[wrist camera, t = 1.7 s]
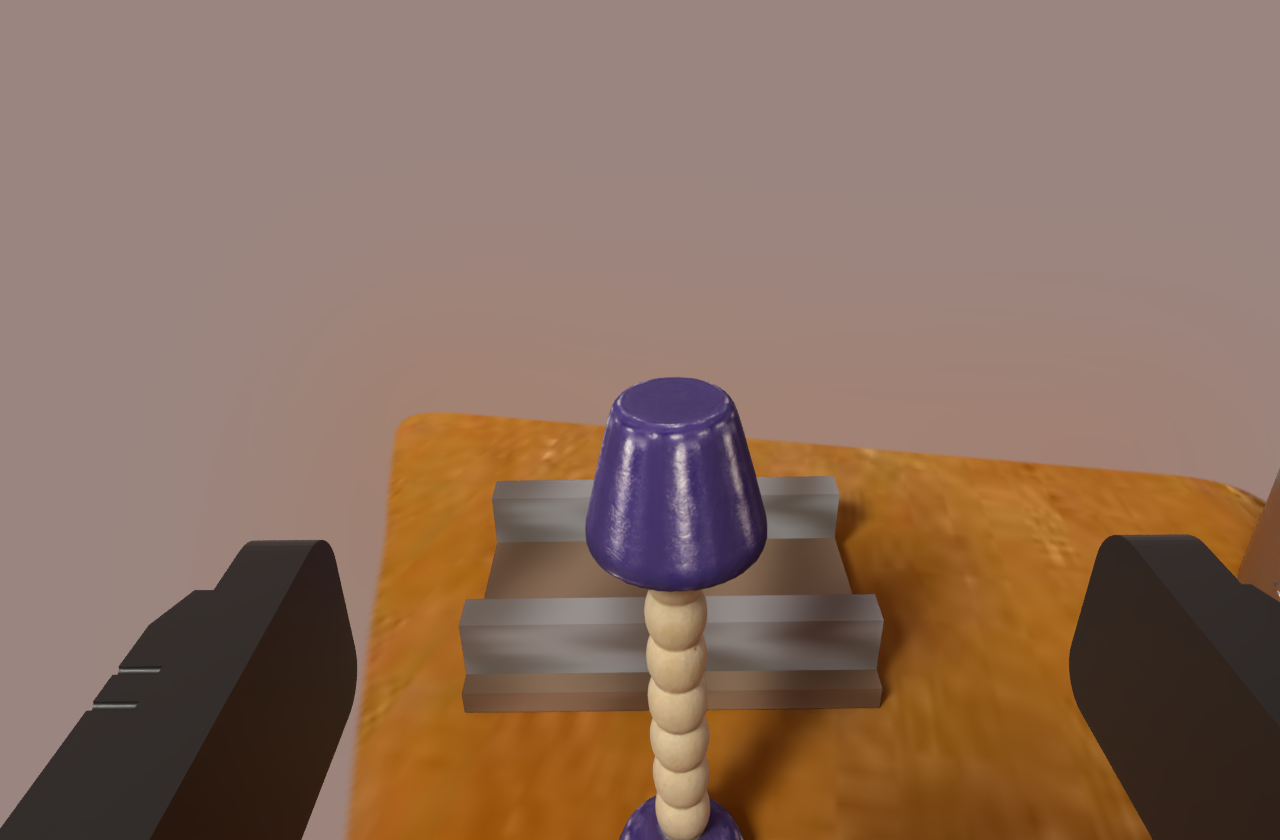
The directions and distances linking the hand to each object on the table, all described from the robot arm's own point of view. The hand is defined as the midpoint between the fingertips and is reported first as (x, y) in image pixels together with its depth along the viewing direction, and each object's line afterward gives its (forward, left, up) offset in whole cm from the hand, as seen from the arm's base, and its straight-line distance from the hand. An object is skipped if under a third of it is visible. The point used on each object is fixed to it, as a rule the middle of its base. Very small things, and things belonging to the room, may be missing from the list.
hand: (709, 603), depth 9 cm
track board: (-12, -20, -20) cm, 31 cm away
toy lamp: (-6, -10, -20) cm, 23 cm away
